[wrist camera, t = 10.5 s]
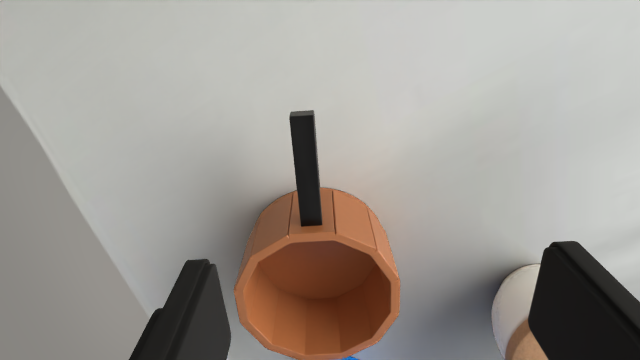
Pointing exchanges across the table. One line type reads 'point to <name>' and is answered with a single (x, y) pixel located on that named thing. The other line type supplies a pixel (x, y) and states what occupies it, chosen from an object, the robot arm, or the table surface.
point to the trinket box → (516, 316)
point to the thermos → (348, 358)
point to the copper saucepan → (316, 267)
